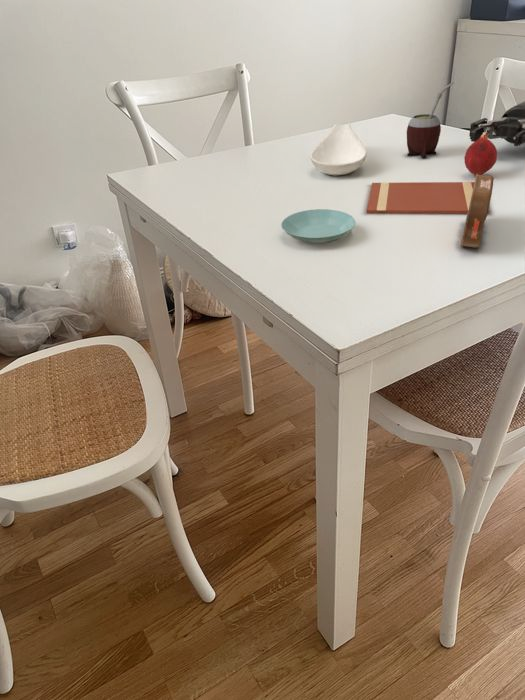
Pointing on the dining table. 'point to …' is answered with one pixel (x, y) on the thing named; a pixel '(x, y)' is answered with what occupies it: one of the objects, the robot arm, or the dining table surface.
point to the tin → (477, 211)
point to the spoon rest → (339, 152)
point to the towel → (420, 198)
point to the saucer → (318, 225)
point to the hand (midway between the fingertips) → (494, 138)
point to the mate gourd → (424, 132)
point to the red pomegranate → (480, 156)
